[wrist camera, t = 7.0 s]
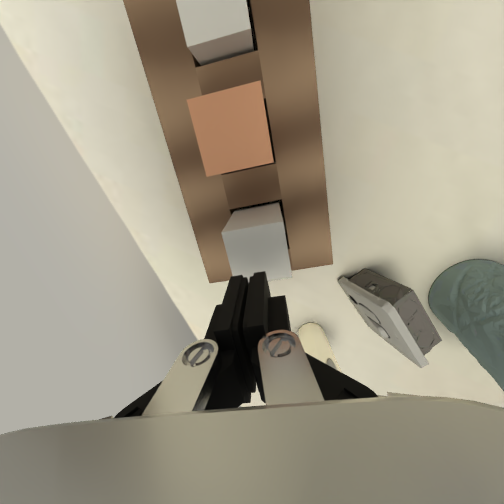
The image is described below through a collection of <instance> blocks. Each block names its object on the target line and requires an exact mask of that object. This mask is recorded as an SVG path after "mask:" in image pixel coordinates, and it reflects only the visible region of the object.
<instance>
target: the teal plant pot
mask: <svg viewBox="0 0 504 504" xmlns="http://www.w3.org/2000/svg"><path fill="white" fill-rule="evenodd" d="M429 305H430V307H431V309H432V311H433V313H434V314H435V315H436V317H437V318H438V319H439V320H440V321H441V322H442V323H443V324H444V325H445V327H446V328H447V329H448V330H449V331H451V332H453V333H454V334H455V335H456V336H457V337H458V339H459V340H460V341H461V342H462V344H463V345H464V346H465V347H466V348H467V349H468V350H469V352H470V353H471V354H472V355H473V356H474V357H475V358H476V359H477V360H478V362H479V364H480V365H481V366H482V367H483V368H484V369H485V370H487V372H488V373H489V374H490V375H491V376H492V377H493V378H494V379H495V381H496V382H497V383H498V385H499V386H500V387H501V388H502V390H503V391H504V265H502V264H499V263H496V262H494V261H489V260H480V259H477V260H475V259H474V260H468V261H463V262H461V263H458V264H456V265H454V266H452V267H450V268H448V269H447V270H445V271H444V272H443V273H442V274H441V275H440V276H439V277H438V278H437V279H436V280H435V282H434V283H433V285H432V287H431V289H430V292H429Z"/></svg>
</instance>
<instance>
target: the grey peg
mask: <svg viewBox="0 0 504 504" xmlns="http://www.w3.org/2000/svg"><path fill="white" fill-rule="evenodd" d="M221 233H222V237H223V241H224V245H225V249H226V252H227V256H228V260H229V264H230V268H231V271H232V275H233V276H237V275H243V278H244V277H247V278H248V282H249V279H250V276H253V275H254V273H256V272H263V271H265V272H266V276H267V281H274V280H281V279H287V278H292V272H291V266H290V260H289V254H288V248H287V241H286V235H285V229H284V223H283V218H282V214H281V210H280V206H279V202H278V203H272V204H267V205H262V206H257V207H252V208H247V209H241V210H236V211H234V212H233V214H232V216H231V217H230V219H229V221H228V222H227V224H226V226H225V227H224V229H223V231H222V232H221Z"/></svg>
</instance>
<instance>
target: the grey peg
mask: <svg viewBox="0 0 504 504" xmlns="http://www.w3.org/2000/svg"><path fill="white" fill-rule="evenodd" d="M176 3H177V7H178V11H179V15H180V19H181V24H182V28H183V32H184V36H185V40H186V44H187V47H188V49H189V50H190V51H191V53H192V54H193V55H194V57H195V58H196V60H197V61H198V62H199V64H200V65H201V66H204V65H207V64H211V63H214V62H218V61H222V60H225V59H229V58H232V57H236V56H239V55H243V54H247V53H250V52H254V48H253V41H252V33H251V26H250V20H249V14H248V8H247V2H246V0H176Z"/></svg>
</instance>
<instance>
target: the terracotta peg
mask: <svg viewBox="0 0 504 504" xmlns="http://www.w3.org/2000/svg"><path fill="white" fill-rule="evenodd" d="M187 104H188V108H189V111H190V115H191V119H192V123H193V127H194V131H195V134H196V138H197V142H198V146H199V150H200V153H201V157H202V161H203V165H204V169H205V172H206V176H207V177H209V176H213V175H218V174H222V173H227V172H232V171H236V170H241V169H246V168H250V167H255V166H259V165H264V164H269V163H273V162H274V161H273V155H272V149H271V143H270V136H269V130H268V124H267V118H266V112H265V106H264V99H263V93H262V87H261V81H256V82H252V83H248V84H245V85H241V86H237V87H233V88H229V89H226V90H222V91H218V92H214V93H210V94H207V95H203V96H199V97H195V98H191V99H188V100H187Z"/></svg>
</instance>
